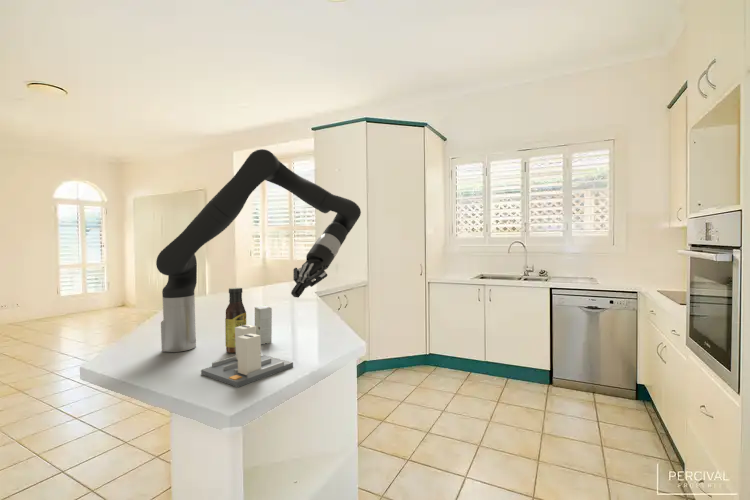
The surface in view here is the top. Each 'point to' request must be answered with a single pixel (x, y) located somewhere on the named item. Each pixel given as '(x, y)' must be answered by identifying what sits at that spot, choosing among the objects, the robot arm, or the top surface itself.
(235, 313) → the sauce bottle
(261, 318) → the skincare box
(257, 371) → the switch board
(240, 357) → the tab
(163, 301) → the robot arm
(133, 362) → the top surface
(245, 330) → the tab
